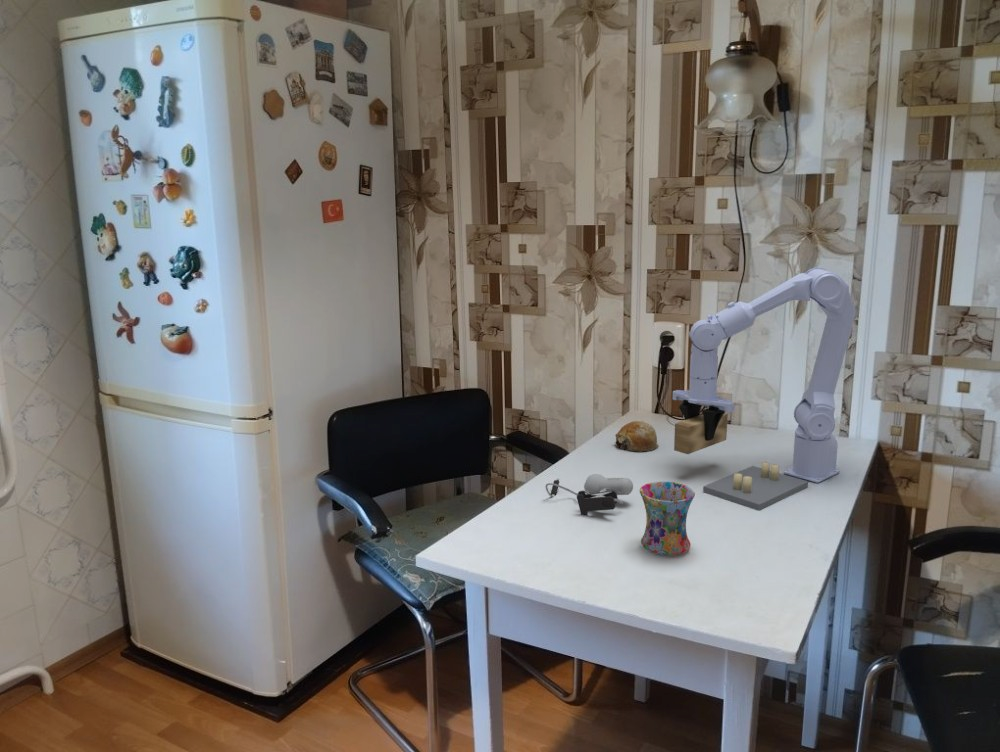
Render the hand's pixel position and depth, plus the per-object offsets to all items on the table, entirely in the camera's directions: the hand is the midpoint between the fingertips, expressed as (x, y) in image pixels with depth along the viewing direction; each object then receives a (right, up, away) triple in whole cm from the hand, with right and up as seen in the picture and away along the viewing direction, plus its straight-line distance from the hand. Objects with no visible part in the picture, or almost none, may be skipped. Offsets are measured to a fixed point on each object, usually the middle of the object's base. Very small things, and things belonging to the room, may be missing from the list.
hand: (701, 437), depth 173 cm
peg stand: (+9, -10, -9) cm, 16 cm away
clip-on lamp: (-27, -12, -13) cm, 32 cm away
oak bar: (0, -2, 0) cm, 2 cm away
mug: (-14, -17, -33) cm, 39 cm away
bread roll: (-11, -4, +20) cm, 23 cm away
